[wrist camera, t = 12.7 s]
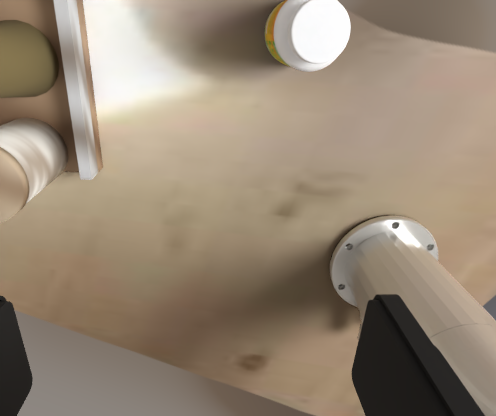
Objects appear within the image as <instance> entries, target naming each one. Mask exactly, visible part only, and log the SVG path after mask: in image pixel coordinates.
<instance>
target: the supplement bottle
mask: <svg viewBox="0 0 496 416" xmlns="http://www.w3.org/2000/svg"><path fill="white" fill-rule="evenodd" d="M349 36H350V20H349V16H348V14H347V12H346V10H345V8H344V7H343V6H342V5H341V4H340V3H339V2H338V0H285V1H283V2H281V3H280V4H278V5H277V6H276V7H275V8H274V9H273V11H272V12H271V13H270V15H269V17H268V19H267V22H266V25H265V42H266V45H267V48H268V50H269V52H270V53H271V55H272V56H273V57H274V58H275V59H276V60H278V61H279V62H281V63H282V64H285V65H287V66H289V67H292V68H294V69H296V70H300V71H306V72H311V71H317V70H320V69H322V68H325V67H326V66H328V65H329V64H331V63H332V62H333V61H334V60H335V59H336V58H337V57H338V55H339V54H340V53H341V52H342V51H343V50H344V48H345V46H346V44H347V42H348V40H349Z"/></svg>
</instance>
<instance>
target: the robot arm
mask: <svg viewBox="0 0 496 416" xmlns="http://www.w3.org/2000/svg"><path fill="white" fill-rule="evenodd" d="M330 277H331V281H332V283H333V286H334V288H335V290H336V291H337V293H338V294H339V295H340V297H341V298H342V299H343V300H345V301H346V302H348V303H349V304H351V305H353V306H356V307H358V309H359V311H360V319H361V320H362V322H361V324H360V329H359V333H358V337H357V338H358V340H359V342H358V346H357V350H356V355H355V359H354V363H353V368H352V380H353V384H354V387H355V389H356V392H357V394H358V397H359V400H360V402H361V405H362V407H363V410H364V413H365V415H366V416H496V320H495V319H493V317H492V316H491V315H490V314H489V313H488V312H487V311H486V310H485V309H484V308H483V307H482V306H481V305H480V304H479V303H478V302H477V301H476V300H475V299H474V298H473V297H472V296H471V295H470V294H469V293H468V292H467V291H466V290H465V289H464V288H463V286H462V285H461V284H460V283H459V282H458V281H457V280H456V279H455V278H454V277H453V276H452V275H451V274H450V273H449V272H448V271H447V270H446V269H445V268H444V267H443V266H442V265H441V264H440V263H439V262H438V248H437V244H436V241H435V239H434V238H433V236H432V234H431V233H430V232H429V231H428V230H427V229H426V228H425V227H424V226H422V225H421V224H420V223H419V222H417V221H415V220H413V219H411V218H407V217H403V216H392V215H390V216H382V217H377V218H374V219H370V220H368V221H366V222H364V223H362V224H360V225H358V226H357V227H355V228H354V229H352V230H351V231H350V232H349V233H347V234H346V235H345V236H344V237H343V238H342V240H341V241H340V242H339V244H338V245H337V246H336V248H335V250H334V252H333V254H332V258H331V262H330ZM31 386H32V373H31V370H30V366H29V362H28V359H27V355H26V352H25V348H24V344H23V341H22V337H21V333H20V330H19V326H18V323H17V319H16V315H15V312H14V308H13V305H12V303H11V302H8V301H6V299H5V298H4V297H3V296H0V416H17V414H18V412H19V410H20V409H21V407H22V405H23V403H24V401H25V399H26V397H27V395H28V394H29V392H30V389H31Z"/></svg>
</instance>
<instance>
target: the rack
mask: <svg viewBox="0 0 496 416" xmlns="http://www.w3.org/2000/svg"><path fill="white" fill-rule="evenodd" d="M3 20H19V21H22V22H25V23H29V24H30V25H32V26H34V27H35V28H37V29H38V30H40V31H41V32H42V33H43V34H44V35H45V36H46V37H47V38H48V39H49V40H50V42H51V44H52V46H53V48H54V49H55V51H56V54H57V58H58V62H59V71H58V77H57V80H56V82H55V84H54V86H53V87H52V88H51V89H50V90H49V91H48V92H47V93H44V94H42V95H39V96H37V97H11V98H0V223H3V222H5V221H7V220H9V219H11V218H12V217H13V216H14V215H16V214H17V213H18V212H19V211H20V210H21V209H22V208H23V207H24V206H25V204H26V203H27V202H29V201H30V200H31V199H32V198H33V197H34V196H35V195H37V194H38V193H39V192H40V191H41V190H42V189H44V188H45V187H46V186H47V185H48V184H49V183H51V182H52V181H53V180H54V179H55V178H56V177H58V176H59V175H60V174H61V173H62V172H63V171H65V172H79V173H80V179H88V180H92V179H93V178H94V177H95V175H96V174H97V173H98V172H99V171H100V170H101V169H102V168H103V165H102V156H101V148H100V140H99V132H98V123H97V115H96V107H95V99H94V90H93V82H92V74H91V66H90V58H89V49H88V41H87V33H86V25H85V16H84V8H83V0H0V21H3Z"/></svg>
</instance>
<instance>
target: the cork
mask: <svg viewBox="0 0 496 416" xmlns="http://www.w3.org/2000/svg"><path fill="white" fill-rule="evenodd" d="M58 71H59V62H58V58H57V54H56V51H55V49H54V48H53V46H52V44H51V42H50V40H49V39H48V38H47V37H46V36H45V35H44V34H43V33H42V32H41V31H40V30H38V29H37V28H35V27H34V26H32V25H30V24H29V23H25V22H22V21H19V20H3V21H0V98H11V97H37V96H39V95H42V94H44V93H47V92H48V91H49V90H50V89H51V88H52V87H53V86H54V84H55V82H56V80H57V77H58Z"/></svg>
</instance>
